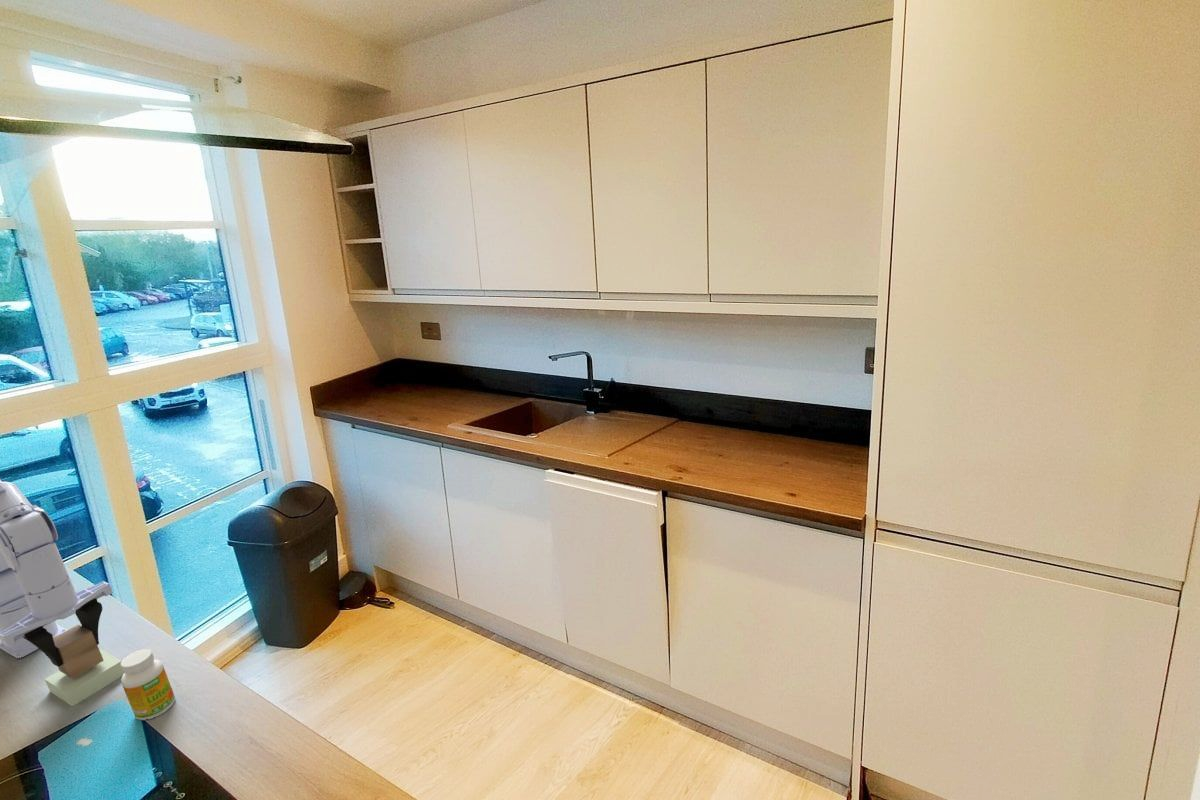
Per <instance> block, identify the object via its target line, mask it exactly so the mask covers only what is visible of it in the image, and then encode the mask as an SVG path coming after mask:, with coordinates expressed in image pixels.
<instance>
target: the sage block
mask: <svg viewBox="0 0 1200 800" xmlns="http://www.w3.org/2000/svg"><path fill="white" fill-rule="evenodd" d="M99 650H100V653H101V655H102V658H103V660H104V661H102V662H100V663H99V664H97V665H95V666H94V667H92V668H90V669H89V670H87V671H85V672H84V673H82V674H80V675H78V676H77V677H75V678H73V679H72V678H71V677H69V676H67V675H66V674H64V673H62V672H61V671H60V670H57V671H56V672H54V673H52V674H51V675H49V676H47V677H46V678H44V682H45V683H46V685H47V689H48V690H49V692H50V693H51V694H53V695H55V696H56V697H57V698H59V699H60V700H62V701H64V702H65V703H67V704H68V705H69V706H71V707H74V706H76V705H77V704H79V703H80V702H82V701H83V700H86V699H87V698H89V697H90V696H92V695H93V694H95V693H97V692H99V691H100V690H102V689H104V688H105V687H107V686H108V685H110V684H112V683H113V682H115V681H117V680H118V679H119V678H120V679H121V678H122V676H123V674H124V672H123V671H122V668H121V661H122V660H121V659H119V658H118V657H116V656H114V655H112V654H111V653H109V652H108V651H107V652H106V651H105V650H103V649H101V648H99Z"/></svg>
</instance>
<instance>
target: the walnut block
mask: <svg viewBox="0 0 1200 800" xmlns="http://www.w3.org/2000/svg"><path fill="white" fill-rule="evenodd" d="M53 640H54V643H55V647H56V649H57V651H58V653H59V655H60V657H61V659H62V661H63V665H61V666H59V667H57V668H58V671H61V672H62V673H64V674H66V675H67V676H69V677H71V678H72V679H73V678H75V677H77V676H78V675H80V674H82V673H84V672H85V671H87V670H89V669H90V668H92V667H94V666H95V665H97V664H99V663H100V662H102V661H104V660H103V658H102V655H101V653H100V650H99V649H100V647H99V646H98V645H99V644H98V645H97V643H96V641H95V638H94V636H93V633H92V631H90V630H88V629H86V628H84V627H82V625H81V624H76V625H75V626H73V627H71V628H69V629H67V631H65V632H64V633H62V634H60V635H58V636H56V637H54V638H53Z"/></svg>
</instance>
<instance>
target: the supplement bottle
mask: <svg viewBox="0 0 1200 800" xmlns="http://www.w3.org/2000/svg"><path fill="white" fill-rule="evenodd" d="M121 668H122V671H123V672H124V674H123V676H121V677H120V681H121V685H122V688H123V691H124V693H125V695H126V698H127V700H128V702H129V705H130V707H131V710H132V713H133V715H134V717H135V718H136V719H137V720H139V719H141V720H140V721H147V720H146V719H148V720H151V719H155V718H157V717H159V716H161V715H163V714H165V712H166V711H168V710H169V709H170V708H172V706H173V705H174V702H175V701H176V695H175V693H174V691H173V688H172V685H171V683H170V680H169V678H168V675H167V672H166V669H165V667H164V664H163V662H162V661H161V660H159V659H157V658H155V657H154V655H153V651H152V650H151V649H148V648H143V649H140V650H139V649H138V650H136V651H133V652H131V653H130V654H127V656H125V657H124V658H123V659H122V660H121ZM154 717H155V718H154Z"/></svg>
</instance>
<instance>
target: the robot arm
mask: <svg viewBox="0 0 1200 800" xmlns="http://www.w3.org/2000/svg"><path fill="white" fill-rule="evenodd" d="M58 540H59V536H58V531H57V529H56V526H55V524H54V521H53V519H51V517H50V516H49V514H48V513H47V512H46V510H44V509H43V508H41V507H39V506H38V505H37V504H31V502H30V501H29V500H28V498H27V497H26V496H25V495H24V493H23V492H22V491H21V490H20V489H19V487H18V485H16V484H15V483H13V482H9V481H2V480H1V479H0V650H2V651H3V652H5V653H7V654H8V655H9V656H10V655H11V656H12V657H13V656H14V657H13V658H15V657H16V658H15V659H17V658H20V659H22V658H24V657H26V656H27V655H28V656H29V654H31V653H33V652H35V651H37V650H40V651H42V653H44V655H45V656H46V657H47V658H48V659H49V660H50V661H51V663H52V664H53V665H54V666H56V667H57V668H58V667H59V666H61V665H63V661H62V659H61V657H60V655H59V653H58V651H57V649H56V647H55V643H54V640H53V638H54V637H56V636H58V635H60V634H62V633H64V632H65V631H67V630H68V629H67V628H65V627H63V626H61V625H59V624H57V622H56V621H59V620H65V619H67V618H68V617H71V616H73V615H75V616H76V617H77V619H78V621H79V623H80V626H82V627H84V628H86V629H88V630H90V631H92V633H93V636H94V638H95V641H96V643H97V645H100V640H99V625H100V619H101V614H102V612H103V605H102V603H101V602H99V601H98V600H99V599H100V598H103V597H108V596H110V595H112V594H113V593H114V592H113V589H112V587H111V584H110V583H109V582H106V581H104V580H103V581H101V582H98V583H97V584H95V585H92V586H90V587H87V588H84V589H81V590H79V591H76V589H75V587H74V585H73V583H72V579H71V577H70V576H69V572H68V570H67V567H66V566H65V565H66V564H65V563H64V561H63V558H62V556H61V554H60V552H59V548H58V547H57V544H56V542H57V541H58ZM54 541H55V542H54ZM21 657H22V658H21Z"/></svg>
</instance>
